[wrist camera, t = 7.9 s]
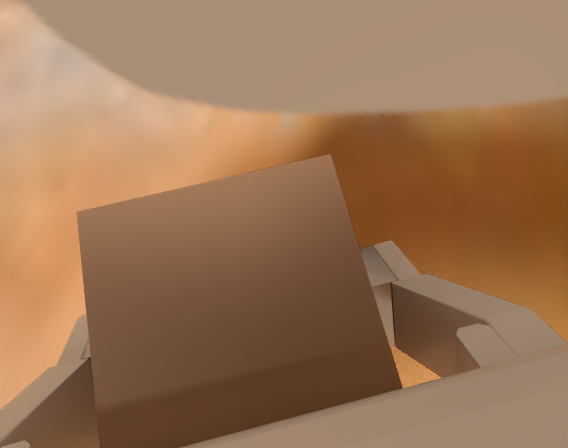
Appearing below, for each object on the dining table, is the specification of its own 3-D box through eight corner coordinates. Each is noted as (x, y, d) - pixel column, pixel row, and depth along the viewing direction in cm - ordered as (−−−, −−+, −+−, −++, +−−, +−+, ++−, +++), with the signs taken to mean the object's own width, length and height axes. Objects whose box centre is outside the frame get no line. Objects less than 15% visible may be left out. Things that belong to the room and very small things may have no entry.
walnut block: (344, 383, 14) (414, 425, 6) (211, 418, 13) (105, 508, 6) (310, 254, 15) (330, 154, 7) (188, 284, 15) (76, 211, 7)
